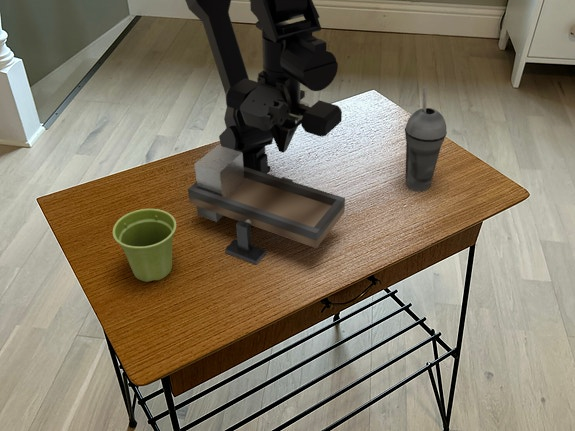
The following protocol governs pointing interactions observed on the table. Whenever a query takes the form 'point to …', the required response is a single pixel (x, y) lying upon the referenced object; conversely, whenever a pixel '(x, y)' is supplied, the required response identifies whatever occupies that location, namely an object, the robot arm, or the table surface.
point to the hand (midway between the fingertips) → (282, 151)
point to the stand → (246, 243)
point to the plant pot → (147, 242)
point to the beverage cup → (423, 145)
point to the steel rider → (220, 171)
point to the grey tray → (274, 207)
